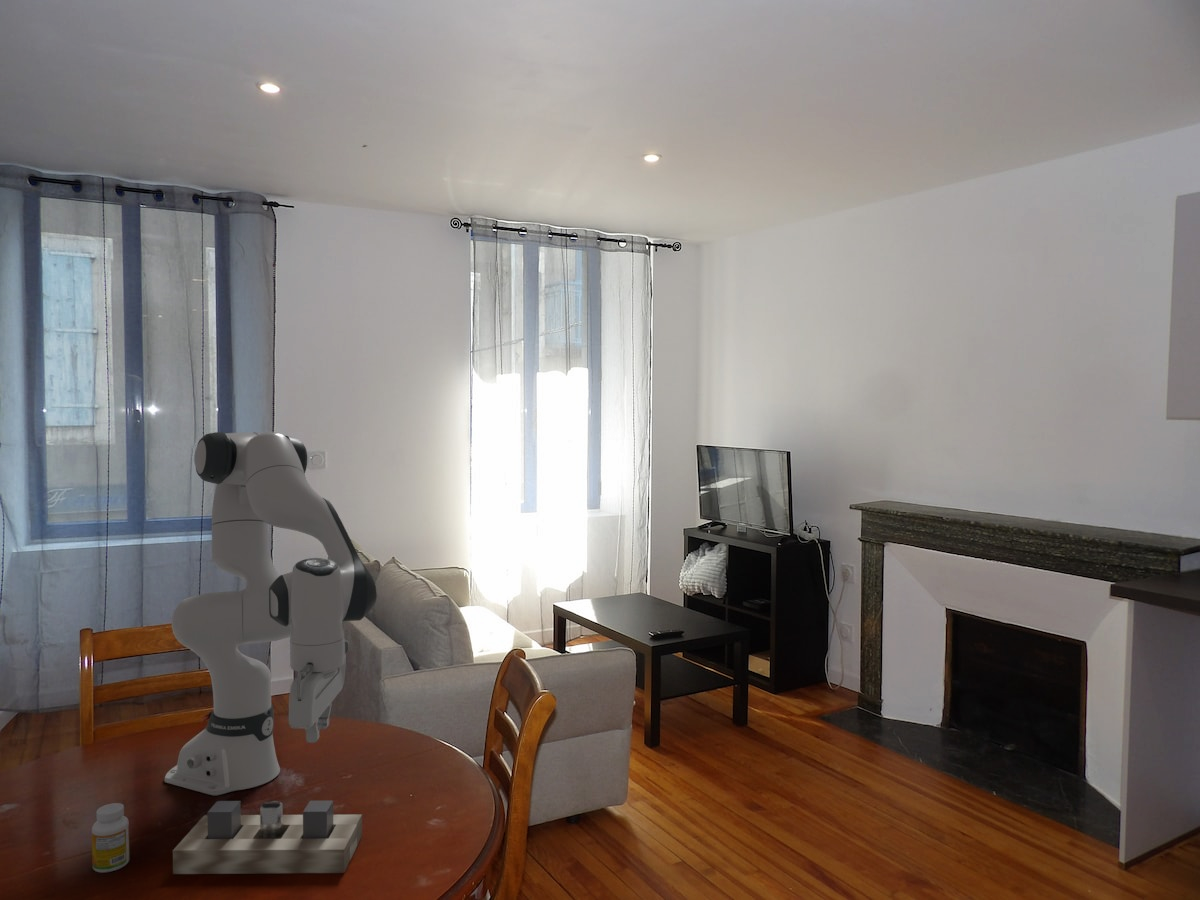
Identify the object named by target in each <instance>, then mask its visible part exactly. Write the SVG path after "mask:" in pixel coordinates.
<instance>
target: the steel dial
mask: <svg viewBox="0 0 1200 900" xmlns="http://www.w3.org/2000/svg"><path fill="white" fill-rule="evenodd" d="M283 805H284V804H283V803H282V802H281V801H275V800H274V801H263V803H262V805H260V808H259V811H260V813H259V815H260V837H261V838H262V839H276V838H278V837H280V836H281V835H282V834H283V815H284V814H283V811H284V809H283Z"/></svg>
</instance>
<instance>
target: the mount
mask: <svg viewBox="0 0 1200 900" xmlns="http://www.w3.org/2000/svg"><path fill="white" fill-rule="evenodd" d="M362 837H363V814H355V813H354V814H333V830H332V832H331V834H330V835H329V837H328V838H325V839H303V814H283V834H282V835H281V836H280V837H278V838H276V839H262V838H261V837H260V814H241V829H240V831H239V832H238V833H237V835H236V836H235V837H234V838H233V839H208V814H205V815H203V816H202V817H201V818H200V819H199V820H198V821H197V822H196V824H195V825H194V826H193V827H192V828H191V829H190V831H189V832H188V833H187V834H186V835H185V836H184V837H183V838H182V839H181V841H180V842H178V844H176V846H175V847H174V849H172V874H173V875H203V874H204V875H209V874H210V875H214V874H215V875H216V874H217V875H224V874H225V875H228V874H229V875H231V874H232V875H234V874H235V875H236V874H243V875H246V874H251V875H252V874H256V875H257V874H345V873H346V870H347V868H348V867H349V863H350V862H351V861H352V857H353V856H354V854H355V851H356V849H357V847H358V845H359V843H360V841H361V840H362Z"/></svg>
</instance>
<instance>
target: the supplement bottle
mask: <svg viewBox="0 0 1200 900" xmlns="http://www.w3.org/2000/svg"><path fill="white" fill-rule="evenodd" d="M95 816H96V821H95V822H94V824H92V827H91V854H92V856H91V857H92V858H91V860H92V861H91V862H92V869H93V870H94V871H95V872H97V873H103V874H104V873H110V872H113V871H117V870H120V869H122V868H123V867H125V866H126V865H127V864H129V862H130V822H129V819H128V817H127V816H125V806H124V804H122V803H120V802H113V803H108V804H105V805H102V806H101V807H98V809H97V810H96V815H95Z"/></svg>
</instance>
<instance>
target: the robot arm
mask: <svg viewBox="0 0 1200 900" xmlns="http://www.w3.org/2000/svg"><path fill="white" fill-rule="evenodd" d="M193 456H194V457H193V460H194V466H195V472H196V473H197V475H198V476H199V478H200V479H201V480H202V481H204V482H206V483H211V484H216V486H215V489H214V495H213V501H212V509H211V559H212V562H213V563H214V565H215V566H216V567H217V568H218V570H221V571H222V572H225V573H227V574H230V575H232V576H235V577H237V578H239V579H241V580H242V581H243V582H244V584H245V588H244V589H241V590H234V591H233V590H232V591H220V592H219V591H218V592H207V593H206V592H205V593H202V594H198V595H194V596H190V597H187V598H184V599H182V600H181V601H180V602H179V603H178V604H177V606H176V607H175V610H174V612H173V615H172V618H171V630H172V632H173V635H174V637H175V639H176V640H177V641H178V643H180V644H181V645H182V646H183V647H185V648H188V650H190V651H192V652H193V653H195V654H196V655H197V656H198V657H199V658H200V659H201V661H202V662H203V663H204V665H205V666H206V668H207V670H208V672H209V675H210V679H211V680H210V681H211V686H212V687H211V688H212V697H213V698H212V700H213V701H212V702H213V709H212V710H210V711H209V712H208V713H207V714H205V715H203V716H201V718H202V720H201V723H204V722H206V721H207V725H206V726H205V728H204V729H203V730H202V731H200V732H199V733H198V734H197V735H195V736H194V737H193V738H191V739H190V740H189V741H188V742H186V743H185V744H184V745H183V747H181V749H180V751H179V753H178V758H177V764H176V765H175V766H173V767H172V768H171V769H170V770H169V771H167V773H166V774H165V776H164V783H167V784H170V785H173V786H177V787H182V788H185V789H188V790H192V791H195V792H200V793H202V794H206V795H209V796H210V795H211V796H220V795H224V794H227V793H230V792H235V791H242V790H246V789H251V788H256V787H259V786H262V785H264V784H267V783H270V782H271V781H272V780H273V779H275V778H276V777H277V776H278V775H280V772H281V767H280V765H279V762H278V758H277V754H276V753H277V752H276V748H275V744H274V742H275V741H274V735H273V734H274V733H273V732H274V726H275V725H274V724H275V720H274V718H275V717H274V714H275V713H274V705H273V703H272V674H271V671H270V669H269V666H267V664H265V663H264V662H263V661H260V660H259V659H256V658H252V657H250V656H247V655H245V654H243V653H242V652H241V651H240V650H239V649H238V648H239V646H242V645H248V644H258V643H268V642H277V641H281V640H284V639H287V638H290V639H289V660H290V661H289V662H290V663H289V665H290V666H289V667H290V669H292V670H293V671H295V672H297V677H295V678H294V679H293V681H292V682H291V685H290V690H289V696H288V697H289V698H288V699H289V700H288V725H289V727H290V728H291V729H301V730H302V729H304V731H305V741H306V743H309V744H312V743H313V744H315V743H317V742H318V740H319V739H320V730H326V729H327V728H328V727H329V725H330V715H331V709H332V705H333V703H332V702H333V701H334V700H335V698H336V697H337V696H338V695H339V693H340V692H341V691H342V690H343V687H344V684H345V677H346V675H345V674H346V661H347V660H346V658H347V657H346V655H347V653H348V652H349V649H350V643H349V640H348V639H345V632H344V629H343V622H356V621H362V619H364V618H365V617H366V616H367V615H368V614H369V613H370V612H371V610H372V609H373V608H374V606H375V604H376V602H377V596H378V593H377V587H376V583H375V580H374V577H373V575H372V574H371V572H370V571H369V569H368V568H367V566H366V565H365V564H364V563H363V561H362V559H361V558H360V555H359V554H358V551H357V550H356V548H355V546H354V544H353V542H352V540H351V538H350V536H349V534H348V532H347V529H346V528H345V526H344V523H343V522H342V521H343V520H342V519H341V517H340V515H339V514H338V512H337V511H336V508H335V507H334V505H333V504H332V503H331V502H330V500H328V499H326V498H325V497H322V496H321V495H319V494H318V493H317V492H316V491H315V490H314V489H313V488H312V487H311V485H310V484H309V482H308V481H307V478H306V474H305V473H306V471H307V467H308V451H307V448H306V446H305V445H304V443H303V441H302V440H301V439H298V438H296V437H293V436H289V435H284V434H282V433H278V432H274V431H273V432H272V431H267V432H255V431H254V432H228V433H227V432H226V433H225V432H223V431H218V432H217V431H216V432H210V433H206V434H204V435H203V436H202V437H201V438H200V439H199V440H198V442H197V444H196V448H195V451H194V455H193ZM269 525H270V526H272V527H275V528H279V529H285V530H291V531H295V532H299V533H302V534H306V535H308V536H311V537H313V538H314V539H316V540H318V541H319V542H320V543H321V544H322V546H323V548H324V550H325V552H326V554H327V557H328V559H327V558H322V557H311V558H310V557H309V558H305V559H302V560H299V561H298V562H296V563H295V564H294V565H293V567H292V570H291V571H290V572H288V573H287V572H286V573H284V574H279V572H278V571H277V570H276V568H275V565H274V562H273V560H272V554H271V548H270V538H269V536H270V534H269Z"/></svg>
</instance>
